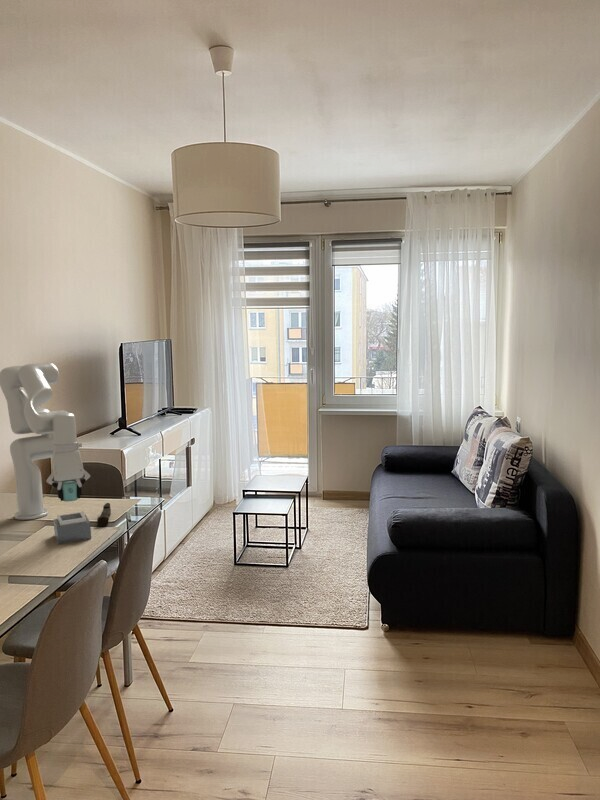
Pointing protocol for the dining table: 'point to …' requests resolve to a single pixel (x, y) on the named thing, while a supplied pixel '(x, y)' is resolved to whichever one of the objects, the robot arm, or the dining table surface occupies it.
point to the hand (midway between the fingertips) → (70, 498)
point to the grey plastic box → (72, 528)
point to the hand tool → (104, 515)
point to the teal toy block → (69, 491)
